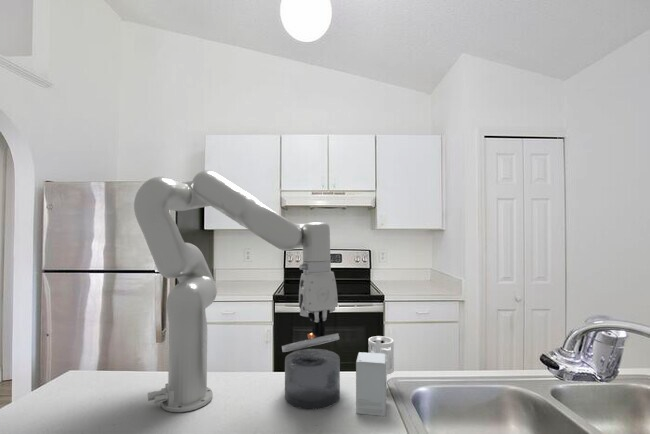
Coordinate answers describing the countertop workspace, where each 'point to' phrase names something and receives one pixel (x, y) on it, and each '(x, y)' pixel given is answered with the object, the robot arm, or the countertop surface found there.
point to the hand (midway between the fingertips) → (318, 335)
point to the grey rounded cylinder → (312, 378)
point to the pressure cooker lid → (310, 342)
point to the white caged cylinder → (383, 351)
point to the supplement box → (371, 384)
